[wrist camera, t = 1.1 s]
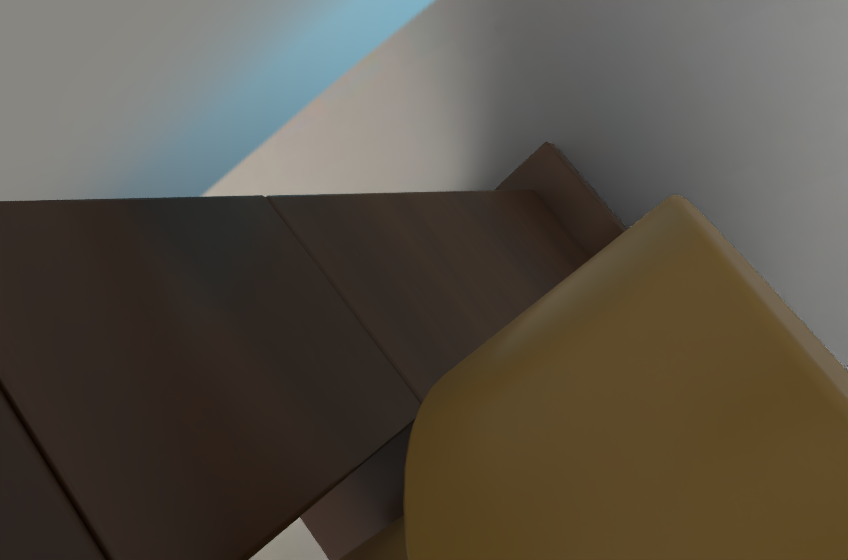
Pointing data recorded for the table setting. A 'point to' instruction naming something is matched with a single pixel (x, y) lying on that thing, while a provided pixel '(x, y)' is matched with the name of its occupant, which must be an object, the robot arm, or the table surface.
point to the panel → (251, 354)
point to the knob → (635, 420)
